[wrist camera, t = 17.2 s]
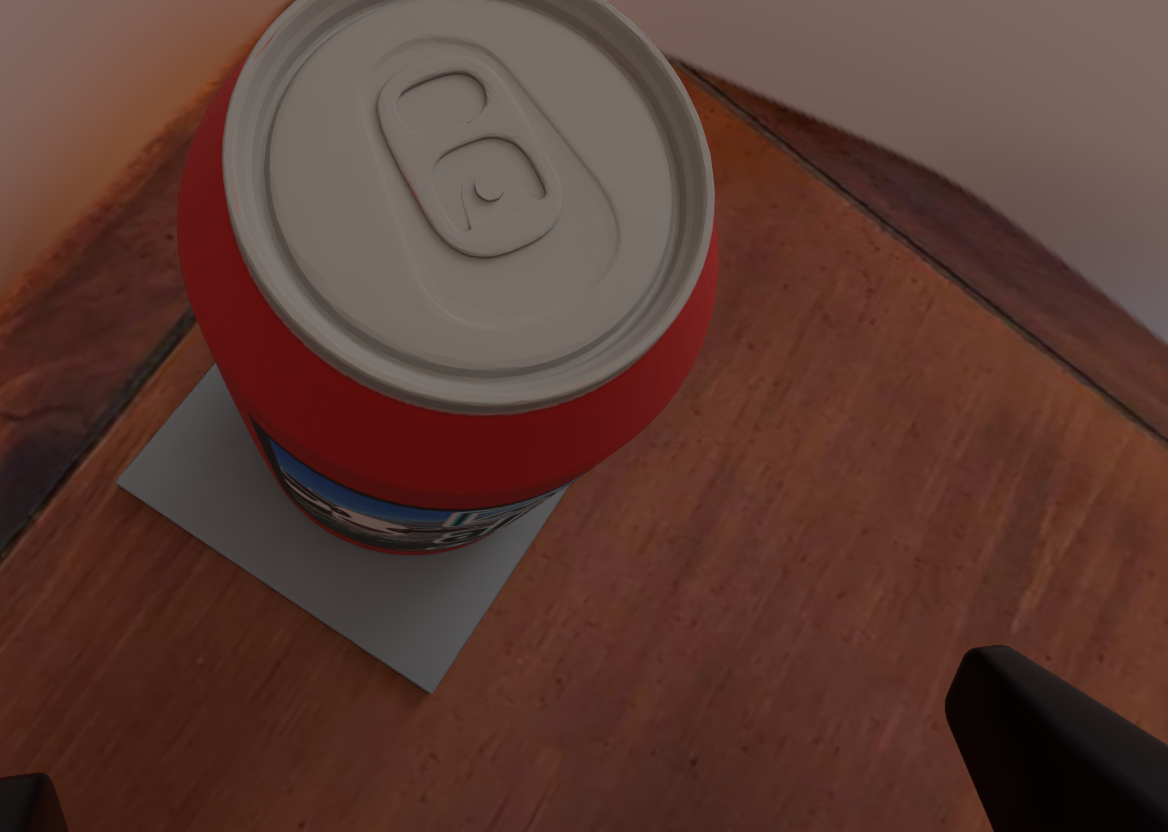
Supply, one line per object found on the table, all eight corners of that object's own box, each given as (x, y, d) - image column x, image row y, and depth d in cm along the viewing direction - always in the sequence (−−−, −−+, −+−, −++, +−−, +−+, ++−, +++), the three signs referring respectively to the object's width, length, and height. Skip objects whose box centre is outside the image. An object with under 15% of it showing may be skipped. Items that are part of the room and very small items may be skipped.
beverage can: (344, 617, 20) (338, 599, 9) (201, 342, 21) (25, -3, 10) (609, 472, 22) (877, 309, 11) (473, 225, 23) (596, -172, 12)
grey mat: (430, 693, 21) (431, 695, 20) (118, 485, 20) (114, 482, 20) (661, 342, 24) (666, 338, 24) (396, 152, 23) (397, 144, 23)
